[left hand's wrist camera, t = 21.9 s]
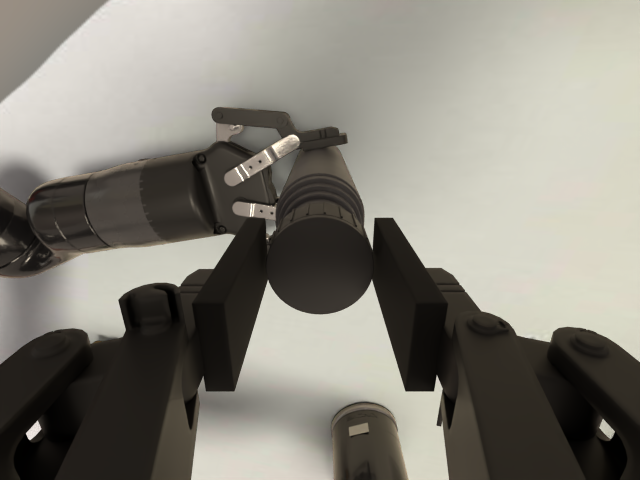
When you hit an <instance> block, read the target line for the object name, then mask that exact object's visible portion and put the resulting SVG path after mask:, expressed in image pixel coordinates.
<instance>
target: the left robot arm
mask: <svg viewBox="0 0 640 480" xmlns="http://www.w3.org/2000/svg"><path fill="white" fill-rule="evenodd" d="M267 254H268V253H267V237H266V221H265V218H247V219H246V220H245V222H244V223H243V225H242V227H241V228H240V230H239V231H238V233H237V234H236V236H235V237H234V239H233V240H232V242H231V244H230V245H229V247H228V248H227V250H226V251H225V253H224V254H223V256H222V257H221V259H220V261H219V262H218V264H217V265H216V267H215V268H214V269H198V270H197V271H195V272H194V273H192V274H190V275H189V276H187V277H186V279H185V280H184V281H183V283H182V284H181V286H179V287H177V286H176V285H174V284H170V283H153V284H148V285H143V286H140V287H137V288H135V289H132V290H131V291H129V292H127V293H125V294H124V295H123V296H122V297H121V298H120V299H119V300H118V301H119V305H120V308H121V312H122V316H123V320H124V324H125V328H126V332H125V334H124V336H123V337H122V338H118V339H114V340H108V341H103V342H98V343H93V344H90V341H89V338H88V335H87V333H86V332H84V331H83V330H80V329H73V328H72V329H63V330H62V329H61V330H56V331H54V332H53V331H52V332H49V333H46V334H44V335H43V336H40V337H38V338H36V339H34V340H32V341H30V342H29V343H27V344H26V345H24V346H23V347H21V348H20V349H19V350H18V351H16V352H15V353H14V354H13V355H11V356H10V357H9V358H8V359H7V360H5V361H4V362H3V363H2V364H0V480H191V474H192V466H193V457H194V448H195V440H196V431H197V422H198V414H199V405H200V403H199V397H198V391H197V389H198V387H199V385H200V382H201V380H202V378H203V376H204V382H205V388H206V391H235V388H236V384H237V381H238V378H239V374H240V371H241V368H242V364H243V361H244V358H245V354H246V351H247V348H248V344H249V341H250V338H251V334H252V331H253V328H254V324H255V321H256V318H257V314H258V311H259V308H260V304H261V301H262V298H263V294H264V291H265V287H266V284H267V281H268V277H267V272H266V257H267ZM372 255H373V260H374V271H373V276H372V281H373V284H374V287H375V291H376V294H377V298H378V301H379V304H380V308H381V311H382V314H383V318H384V321H385V324H386V328H387V331H388V334H389V338H390V341H391V344H392V348H393V351H394V354H395V358H396V361H397V364H398V368H399V371H400V374H401V378H402V381H403V384H404V388H405V391H434V388H435V382H436V376H438V378H439V381H440V383H441V385H442V387H443V391H442V397H441V402H440V408H439V414H438V420H437V426H441V424H442V422H443V430H444V439H445V448H446V456H447V465H448V473H449V480H640V362H639V361H638V360H636V359H635V358H634V357H633V356H631V355H630V354H629V353H628V352H626V351H625V350H624V349H623V348H621V347H620V346H619V345H617V344H616V343H614V342H613V341H611V340H610V339H608V338H606V337H604V336H602V335H599V334H597V333H596V332H594V331H590V330H586V329H583V328H574V327H563V328H558V329H557V330H555V331H554V332H553V335H552V338H551V341H550V342H545V341H539V340H534V339H529V338H524V337H520V336H517V335H516V333H515V331H514V329H513V328H512V327H511V326H510V324H509V323H507V322H506V321H504V320H503V319H501V318H500V317H497V316H495V315H493V314H490V313H486V312H481V311H480V309H479V308H478V307H477V305H476V304H475V303H474V302H473V300H472V299H471V298H470V296H469V295H468V294H467V293H466V292H465V290H464V289H463V288H462V286H461V285H459V282H458V281H457V280H456V279H455V277H454V276H453V275H452V274H450V273H448V272H447V271H445V270H444V269H442V268H425V267H424V265H423V264H422V262H421V261H420V259H419V257H418V256H417V254H416V253H415V251H414V250H413V248H412V247H411V245H410V244H409V242H408V240H407V239H406V237H405V236H404V234H403V233H402V231H401V230H400V228H399V227H398V225H397V223H396V222H395V220H394V219H393V218H375V221H374V237H373V254H372ZM602 419H604V420H605V421H606V422H607V423H608V424H609V425H610V427H611V428H612V429H613V430H614V431H615V433H614V435H613V438H612V439H609V438H608V437H607V436H606V435H605V434H604V433H603V432H602V431H601V430H600V428H599V426H600V424H601V422H602ZM37 420H38V422H39V424H40V426H41V430H40V432H39V433H38V434H37V435H36V436H35V437H34V438H32V439H31V440H29V439H28V438H27V435H26V432H27V431H28V430H29V429H30V428H31V427H32V426H33V425H34V424H35V423H36V421H37Z"/></svg>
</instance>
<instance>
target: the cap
mask: <svg viewBox="0 0 640 480" xmlns="http://www.w3.org/2000/svg"><path fill="white" fill-rule="evenodd" d="M269 246H270V248H269V250H268V254H267V257H266V272H267V277H268V280H269V283H270V285H271V287H272V289H273V290H274V292H275V293H276V294H277V296H278V297H279V298H280V299H281V300H282V301H284V302H285V303H286V304H288V305H289V306H291V307H293V308H295V309H297V310H299V311H302V312H306V313H311V314H329V313H334V312H338V311H341V310H343V309H345V308H347V307H349V306H351V305H352V304H354V303H355V302H356V301H357V300H359V299H360V298H361V296H362V295H363V294H364V293H365V291H366V290H367V288H368V287H369V285H370V282H371V280H372V276H373V271H374V260H373V255H372V254H373V250H372V248H371V245H370V242H369V239H368V237H367V234H366V232H365V229H364V226H363V225H362V226H361V224H360V223H359V221H358V220H357V219H356V218H355V216H354V214H351V213H349V212H348V211H346V210H345V209H343V208H341V206H339V207H338V206H335V205H332V204H326V203H325V202H323V203H314V204H309V203H307V205H304V206H302V207H299V208H297V209H293V210H292V212H291V213H289V214H288V215H287V216H286V217H285V218H284V219H283V218H282V219H281V221H280V224H279V225H278V227H277V229H276V231H274V232H273V235H272V237H271V240H270V243H269Z"/></svg>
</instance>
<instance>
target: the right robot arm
mask: <svg viewBox="0 0 640 480" xmlns="http://www.w3.org/2000/svg"><path fill="white" fill-rule="evenodd" d="M212 118H213V120H214V121H215V122H216V134H217V142H215V143H213V144H212V145H211V146H210V147H209V148H207V149H204V150H199V151H194V152H188V153H182V154H177V155H171V156H166V157H160V158H154V159H141V160H139V161H137V162H131V163H126V164H122V165H118V166H115V167H112V168H110V169H106V170H103V171H99V172H93V173H87V174H81V175H76V176H69V177H64V178H59V179H55V180H51V181H48V182H45V183H43V184H42V185H40V186H38V187H37V188H36V189H34V190H33V192H32V193H31V194H30V196H29V198H28V201H27V205H26V204H24V203H23V202H21V201H20V200H18V199H17V198H15V197H13V196H12V195H10V194H9V193H7V192H6V191H4V190H3V189H1V188H0V277H2V278H27V277H32V276H35V275H38V274H41V273H43V272H45V271H48V270H50V269H52V268H54V267H56V266H58V265H61V264H63V263H65V262H68V261H70V260H72V259H74V258H76V257H78V256H80V255H82V254H85V253H93V252H99V251H105V250H112V249H118V248H127V247H148V246H155V245H161V244H167V243H174V242H180V241H186V240H192V239H199V238H205V237H211V236H217V235H222V234H233V235H236V234H237V233H238V231H239V230H240V228H241V227H242V225H243V223H244V222H245V220H246V219H247V218H265V219H269V220H275V221H276V219H275V212H276V206H277V204H276V203H277V202H278V200H279V198H280V197H278V196H277V194H276V189H275V187H274V185H273V183H272V181H271V180H272V171H271V166H270V165H271V164H272V163H274V162H276V161H277V160H278V159H280V158H282V157H283V156H285V155H287V154H289V153H290V152H292V151H294V150H297V149H302V148H303V151H307V150H312V149H318V148H324V147H330V146H336V145H342V144H346V143H348V141H347V134H346V133H340V134H339V130H338V128H335V127H327V128H321V129H316V130H310V131H304V132H301V131H298V130H297V129H296V128H295V127H294V125H293V123H292V121H291V120H290V116H289V115H288V114H287V113H286V112H279V111H267V110H255V109H243V108H231V107H217V108H215V109H214V110H213V111H212ZM244 126H254V127H266V128H277V130H278V132H279V133H280V135H281V137H282V139H280V140H279V141H277V142H275V143H274V144H272V145H270V146H268V147H267V148H265V149H263V150H262V151H260V152H258V153H257V154H256V153H254V152H252V151H250V150H248V149H246V148H244V147H242V146H240V145H238V144H235V143H233V142H231V141H230V140H231V137H232V136H233V135H235V134H239V133H241V132H242V131H243V129H244ZM272 212H273V213H272ZM266 237H267V253H268V250H269V248H270V246H269V243H270V240H271V237H272V235H271V236H270V235H269V234H267V233H266ZM331 433H332V441H333V471H334V480H409V479H408V475H407V471H406V467H405V462H404V458H403V454H402V450H401V445H400V441H399V437H398V430H397V425H396V421H395V418H394V416H393V415H392V414H391V412H389V411H388V410H387V409H385V408H384V407H382V406H379V405H376V404H371V403H359V404H354V405H351V406H348V407H346V408H344V409H343V410H341V411H340V412H339V413H338V414H337V415H336V416H335V417H334V419H333V421H332V425H331Z"/></svg>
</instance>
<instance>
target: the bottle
mask: <svg viewBox="0 0 640 480" xmlns="http://www.w3.org/2000/svg"><path fill="white" fill-rule="evenodd" d="M323 202H325V203H326V204H332V205H335V206H338V207H339V206H341V208H343V209H345V210H346V211H348V212H349V213H351V214H354V216H355V218H356V219H357V220H358V221H359V223H360V224H361V226H362V225H363V226H364V207H363V203H362V200H361V198H360V196H359V193H358V191H357V189H356V187H355V184H354V182H353V180H352V177H351V175H350V173H349V171H348V168H347V166H346V164H345V161H344V159H343V157H342V155H341V153H340V151H339V149H338V148H337V147H336V146H330V147H324V148H318V149H312V150H307V151H303V148H302V149H301V150H300V152H299V154H298V156H297V159H296V161H295V163H294V166H293V168H292V170H291V172H290V175H289V177H288V179H287V182H286V184H285V186H284V188H283V191H282V193H281V195H280V198H279V200H278V202H277V206H276V212H275V219H276V229H277V227H278V225H279V224H280V221H281V219H282V218H283V219H284V218H285V217H286V216H287V215H288V214H289V213H291V212H292V210H293V209H297V208H299V207H302V206H304V205H307V203H309V204H314V203H323Z"/></svg>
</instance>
